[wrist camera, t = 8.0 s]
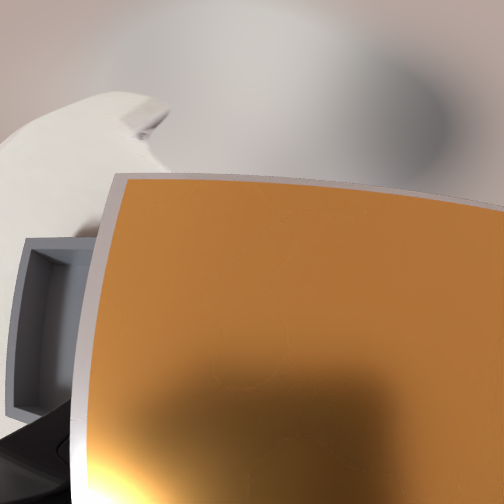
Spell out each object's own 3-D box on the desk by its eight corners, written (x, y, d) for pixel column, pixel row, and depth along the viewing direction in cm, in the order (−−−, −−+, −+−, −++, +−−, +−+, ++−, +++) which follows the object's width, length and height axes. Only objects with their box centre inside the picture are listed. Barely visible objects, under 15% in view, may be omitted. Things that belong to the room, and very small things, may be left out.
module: (318, 441, 12) (521, 572, 1) (208, 437, 13) (64, 612, 1) (323, 337, 14) (531, 184, 3) (215, 332, 14) (96, 138, 3)
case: (165, 439, 17) (147, 453, 13) (38, 413, 17) (5, 415, 13) (173, 261, 22) (158, 236, 18) (53, 258, 21) (25, 238, 18)
